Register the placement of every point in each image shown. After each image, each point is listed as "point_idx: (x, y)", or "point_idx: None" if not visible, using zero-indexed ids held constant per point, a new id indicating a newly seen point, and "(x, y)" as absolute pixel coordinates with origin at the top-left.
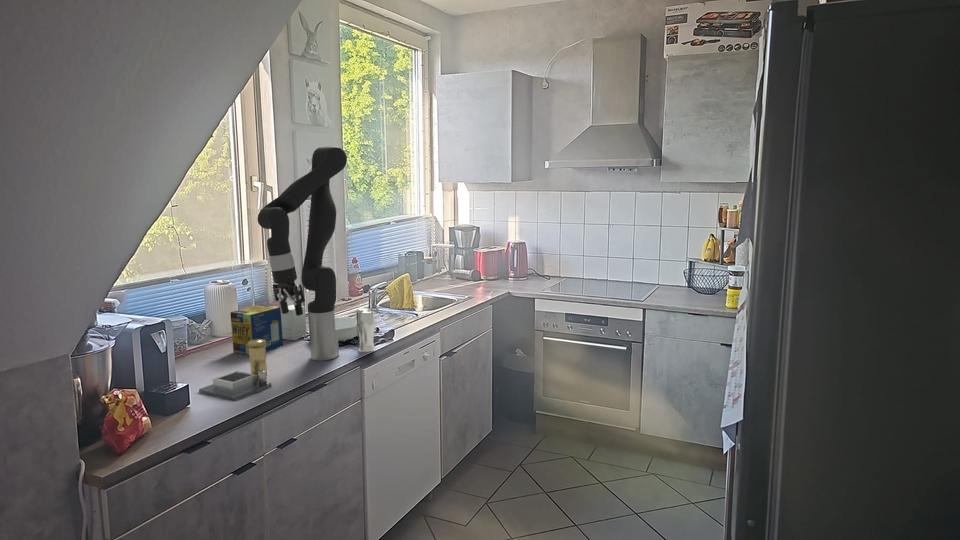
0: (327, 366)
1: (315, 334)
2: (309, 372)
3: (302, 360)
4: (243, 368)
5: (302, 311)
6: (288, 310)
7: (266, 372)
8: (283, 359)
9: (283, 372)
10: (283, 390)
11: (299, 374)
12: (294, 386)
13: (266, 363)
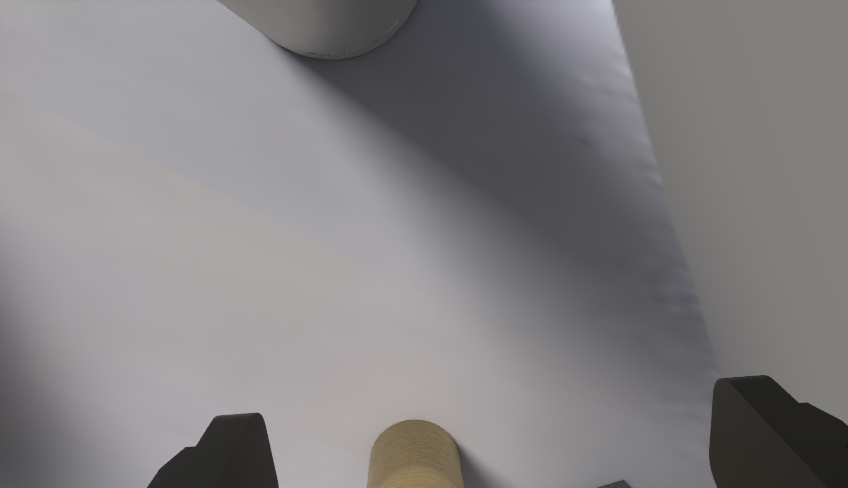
0: (547, 63)
1: (364, 1)
2: (567, 216)
3: (287, 118)
4: None
5: (843, 427)
6: (247, 429)
7: (450, 447)
8: (169, 203)
9: (444, 330)
10: None
11: (555, 279)
12: None
13: (440, 470)
